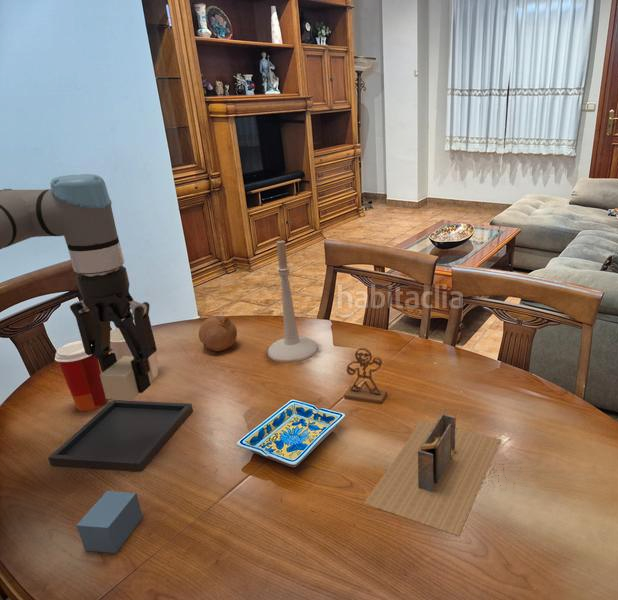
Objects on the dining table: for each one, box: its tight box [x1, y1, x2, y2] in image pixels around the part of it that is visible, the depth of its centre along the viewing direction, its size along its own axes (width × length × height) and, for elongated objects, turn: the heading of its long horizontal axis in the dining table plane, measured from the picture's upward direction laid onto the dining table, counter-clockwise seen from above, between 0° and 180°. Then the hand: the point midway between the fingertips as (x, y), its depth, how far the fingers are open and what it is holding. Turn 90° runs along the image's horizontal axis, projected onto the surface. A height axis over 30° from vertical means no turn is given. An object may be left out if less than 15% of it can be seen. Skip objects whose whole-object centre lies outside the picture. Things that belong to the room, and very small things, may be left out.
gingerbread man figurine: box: [343, 347, 388, 405], centre depth 111 cm, size 9×4×12 cm, turn 73°
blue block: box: [76, 490, 144, 554], centre depth 78 cm, size 5×7×5 cm
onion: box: [198, 315, 238, 353], centre depth 135 cm, size 10×9×10 cm
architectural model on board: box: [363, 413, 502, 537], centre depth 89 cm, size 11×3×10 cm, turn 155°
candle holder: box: [110, 327, 159, 380], centre depth 121 cm, size 10×10×12 cm
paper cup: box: [54, 340, 107, 412], centre depth 110 cm, size 8×8×14 cm
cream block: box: [100, 356, 155, 401], centre depth 94 cm, size 5×7×5 cm
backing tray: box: [47, 399, 194, 472], centre depth 101 cm, size 18×19×2 cm
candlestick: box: [267, 239, 319, 363], centre depth 128 cm, size 13×13×30 cm
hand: (130, 387), depth 95 cm, fingers closed on cream block, 5 cm apart
